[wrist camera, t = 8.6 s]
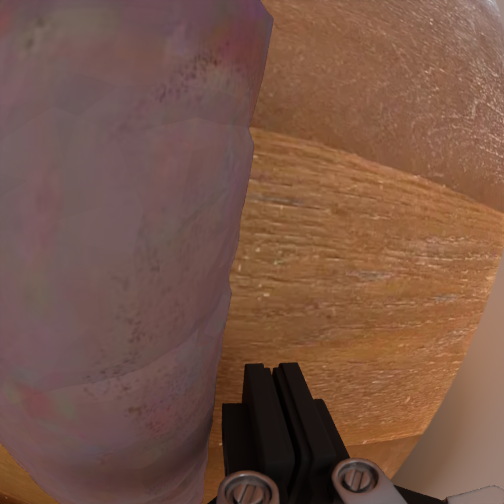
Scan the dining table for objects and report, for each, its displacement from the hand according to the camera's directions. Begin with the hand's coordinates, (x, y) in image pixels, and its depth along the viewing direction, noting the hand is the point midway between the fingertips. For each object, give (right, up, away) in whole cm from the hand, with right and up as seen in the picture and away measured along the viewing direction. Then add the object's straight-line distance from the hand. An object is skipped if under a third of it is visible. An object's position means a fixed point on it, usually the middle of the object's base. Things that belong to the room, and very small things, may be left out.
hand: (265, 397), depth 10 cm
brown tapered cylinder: (-7, +2, +2) cm, 7 cm away
